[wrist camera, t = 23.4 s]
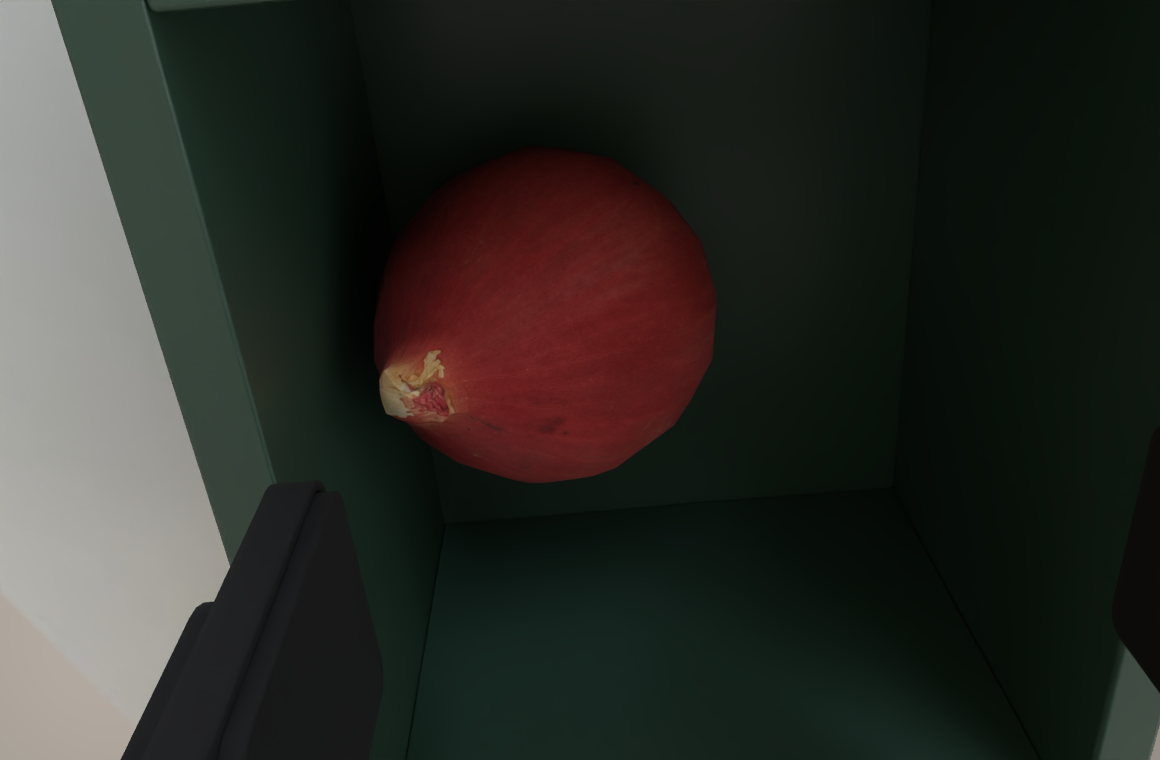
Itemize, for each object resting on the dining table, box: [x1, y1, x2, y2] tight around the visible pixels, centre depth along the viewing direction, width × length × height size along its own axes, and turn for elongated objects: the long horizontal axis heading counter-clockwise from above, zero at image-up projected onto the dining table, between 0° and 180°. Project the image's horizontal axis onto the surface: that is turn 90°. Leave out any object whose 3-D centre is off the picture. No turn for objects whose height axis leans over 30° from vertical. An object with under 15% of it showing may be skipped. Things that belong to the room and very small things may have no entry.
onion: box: [374, 146, 716, 483], centre depth 17 cm, size 6×6×8 cm
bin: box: [51, 0, 1160, 760], centre depth 17 cm, size 15×13×10 cm
